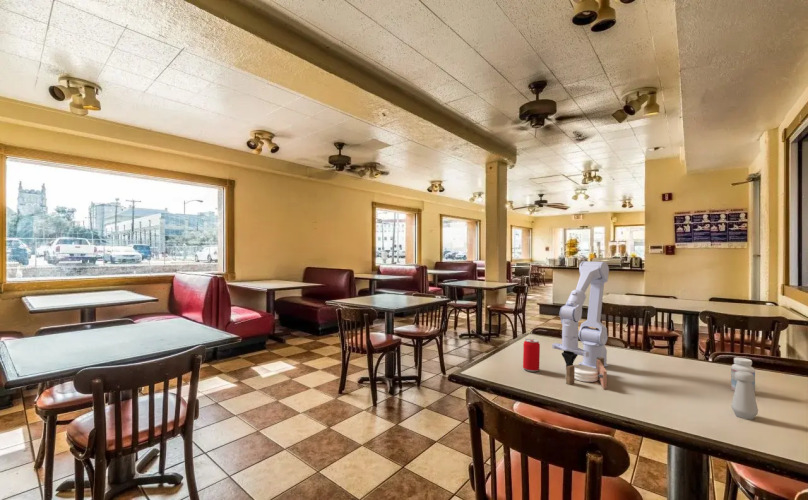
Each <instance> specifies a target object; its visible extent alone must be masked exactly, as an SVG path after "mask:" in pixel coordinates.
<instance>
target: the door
mask: <svg viewBox="0 0 808 500" xmlns="http://www.w3.org/2000/svg"><path fill="white" fill-rule="evenodd" d="M597 370H598V372H599V373H598V375H599V376H598V378H599V379H598V381H599V383H600V384H601V387H602V388H603V390H604V389H607V384H608V382H607V378H608V375H607V374H608V373H607V372H608V371H607V370H606V367H604V366H603V365H602V363H601V361H600V360H597Z"/></svg>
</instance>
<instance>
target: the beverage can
mask: <svg viewBox="0 0 808 500" xmlns="http://www.w3.org/2000/svg"><path fill="white" fill-rule="evenodd" d="M540 345H541V343H540V342H539V340H538V339H533V338H525V339H524V341H523V350H522V351H523V354H522V355H523V356H522V368H523V369H524V370H525V371H527V372H531V373H535V372H538V371H539V370H540V357H541V355H540V353H541V351H540V348H541V346H540Z"/></svg>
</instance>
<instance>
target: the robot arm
mask: <svg viewBox="0 0 808 500" xmlns="http://www.w3.org/2000/svg"><path fill="white" fill-rule="evenodd" d="M609 271H610V267H609V265H608V262H607V261H586V260H582V261H581V262H580V263H579V268H578V272H579V278H578V281H577V285H576V287H575V289H574V290H571V292H570V294H569V296H568V299H567V300H566V302H565V304H564V305H562V306H561V307H560V310H559V313H558V315H559V318H560V323H561V325H562V326H561V329H562V330H561V343H557V342H554V343H551V345H552V347H551V348H552V349H555V350H560V351H563V352H561V355H562V358H563V360H564V362H565V369H567V366H570V365H574V362H575V360H576V359H577V357H578V356H582V361H580V362H578V365H585V366H590V367H593V368H595V369H596V357H599V358H601V357H602V358H604V368H606V367H608V366H609V365H610V364H608V363H607V362H608V360H607V359H608V358H607V357H608V355H607V354H608V352H607V351H608V350H607V348H606V346H605V345H606V344H607V341H608V328H607V327H606V326H605V325H604V324H603V323H602V322H601V319H602V318H601V317H602V310H603V309H602V307H603V297H604V291H605V290H604V289H605V284H606V283H607V282H608V281H609V280H608V279H609V274H610V273H609ZM589 286H590V289H589V299H588V308H587V319H586V320H585V321H583V322H581V324H580V326H579V321H580V320H581V319H582V316H583V314H582V313H583V308H582V307H583V306H584V304H585V301H586V298H587V295H586V292H587V290H588V288H589ZM579 327H580V328H579ZM579 340H580V341H581V344H582V348H580V347H579Z"/></svg>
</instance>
